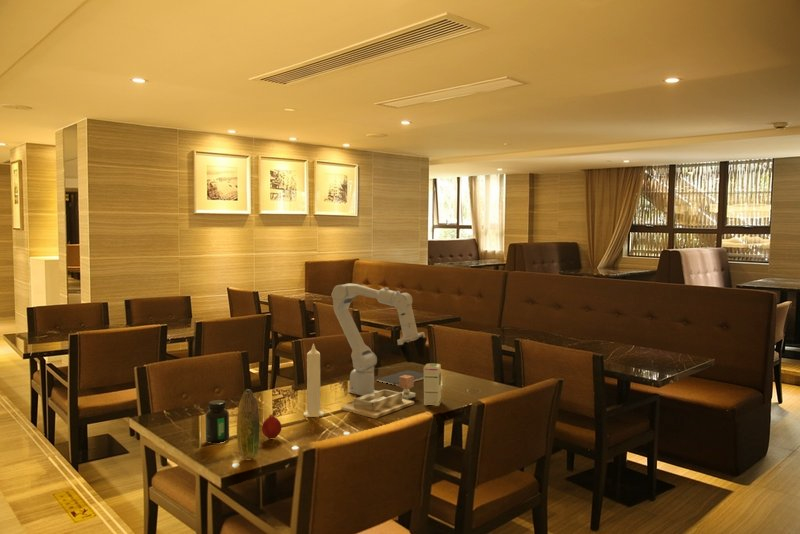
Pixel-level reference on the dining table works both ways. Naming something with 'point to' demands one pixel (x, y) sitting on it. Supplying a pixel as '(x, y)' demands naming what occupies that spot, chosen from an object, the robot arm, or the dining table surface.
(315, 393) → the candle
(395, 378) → the notebook
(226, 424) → the supplement bottle
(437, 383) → the syrup box
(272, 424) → the onion
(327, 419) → the dining table surface
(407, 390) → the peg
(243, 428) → the vegetable
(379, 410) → the holder
